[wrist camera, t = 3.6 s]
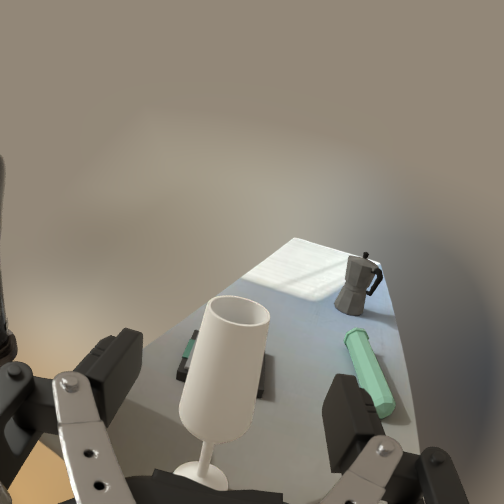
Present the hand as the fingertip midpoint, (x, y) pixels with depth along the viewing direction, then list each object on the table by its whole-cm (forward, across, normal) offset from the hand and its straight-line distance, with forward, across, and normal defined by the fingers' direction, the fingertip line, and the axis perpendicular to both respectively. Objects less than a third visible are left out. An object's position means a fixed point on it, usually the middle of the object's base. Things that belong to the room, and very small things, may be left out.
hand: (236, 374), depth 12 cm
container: (+40, +26, -27) cm, 55 cm away
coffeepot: (+75, +31, -26) cm, 86 cm away
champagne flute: (+11, -1, -27) cm, 29 cm away
